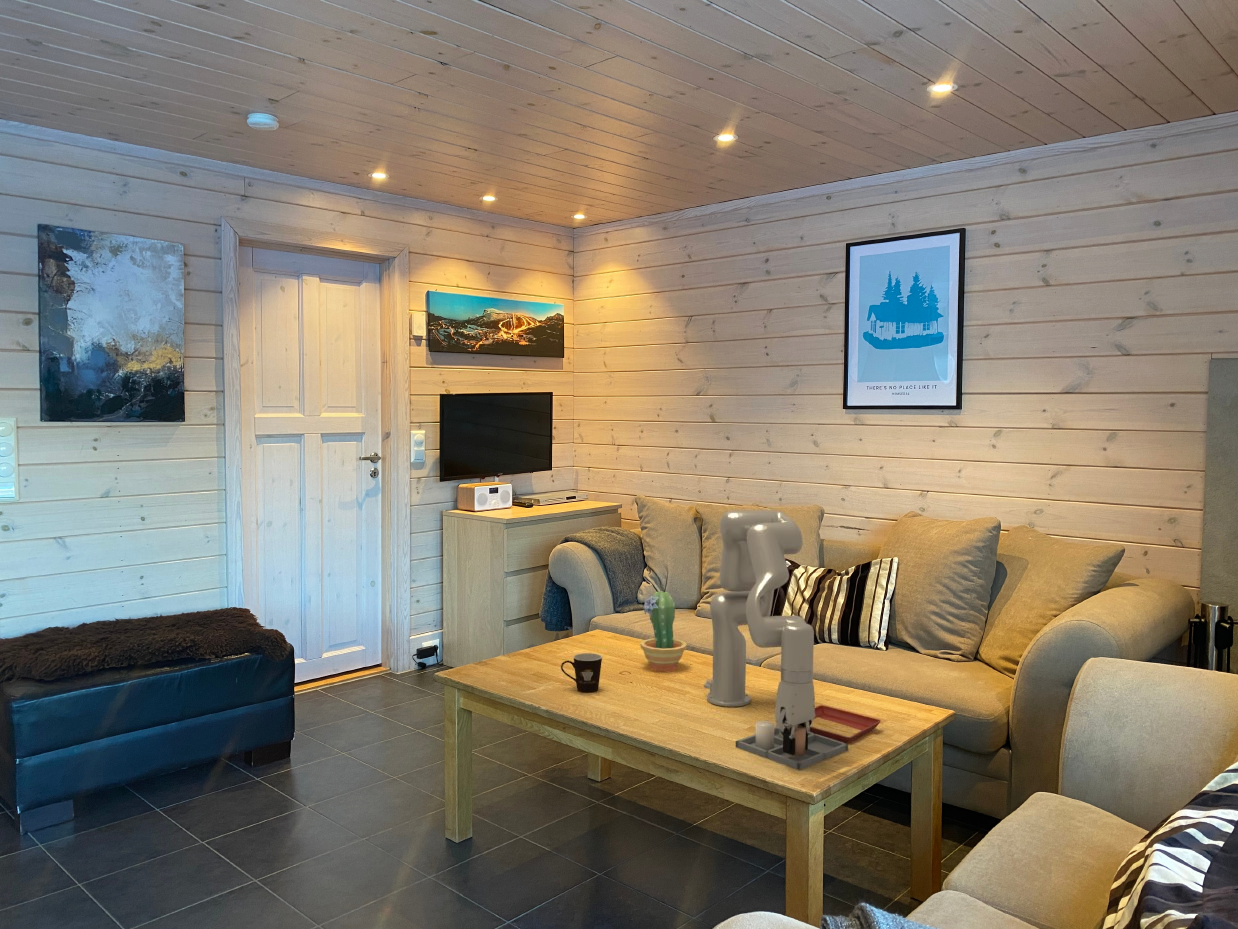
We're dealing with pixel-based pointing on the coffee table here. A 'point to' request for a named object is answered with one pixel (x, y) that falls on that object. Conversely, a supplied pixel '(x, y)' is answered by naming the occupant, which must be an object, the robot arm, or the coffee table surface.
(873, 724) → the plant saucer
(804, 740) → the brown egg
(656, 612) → the potted cactus
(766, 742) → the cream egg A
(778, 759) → the gray divided tray
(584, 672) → the coffee mug
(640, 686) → the coffee table surface
